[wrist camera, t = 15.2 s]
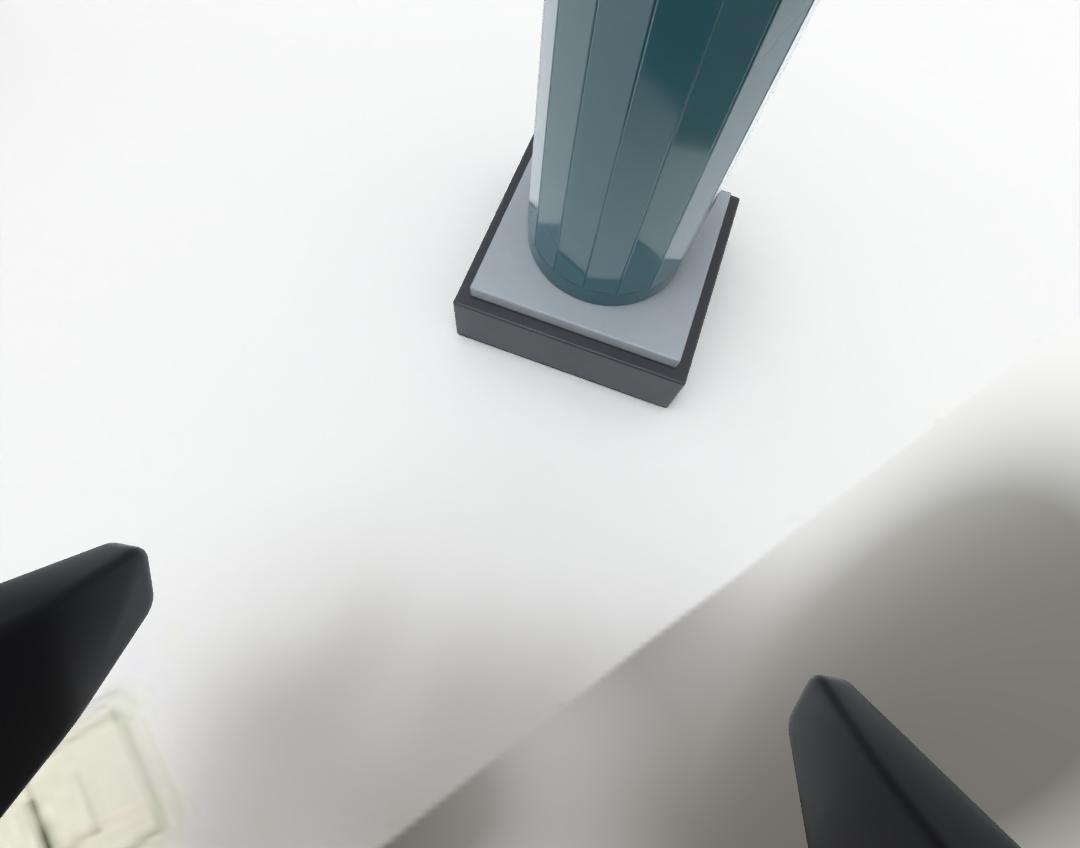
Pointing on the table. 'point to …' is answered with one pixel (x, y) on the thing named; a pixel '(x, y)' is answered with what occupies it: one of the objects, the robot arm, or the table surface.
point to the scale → (589, 306)
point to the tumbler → (644, 131)
